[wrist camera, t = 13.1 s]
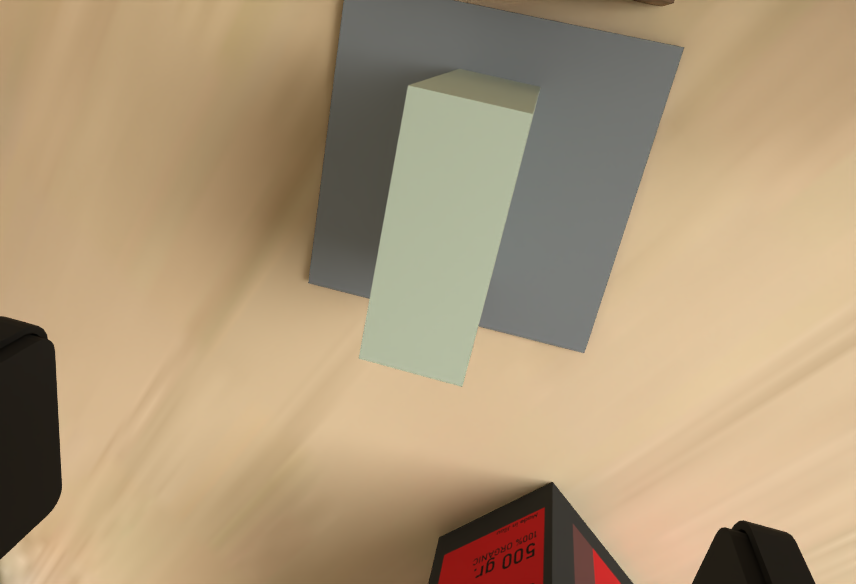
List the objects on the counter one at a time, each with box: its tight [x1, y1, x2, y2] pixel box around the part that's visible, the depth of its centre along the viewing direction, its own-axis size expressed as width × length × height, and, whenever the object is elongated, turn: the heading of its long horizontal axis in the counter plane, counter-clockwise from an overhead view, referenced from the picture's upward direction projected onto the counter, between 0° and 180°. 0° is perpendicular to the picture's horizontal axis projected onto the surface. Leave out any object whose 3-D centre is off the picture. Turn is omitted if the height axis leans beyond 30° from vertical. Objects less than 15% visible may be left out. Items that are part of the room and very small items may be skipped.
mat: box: [308, 0, 684, 353], centre depth 33 cm, size 16×16×1 cm
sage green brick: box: [359, 69, 541, 387], centre depth 27 cm, size 4×10×12 cm, turn 169°
